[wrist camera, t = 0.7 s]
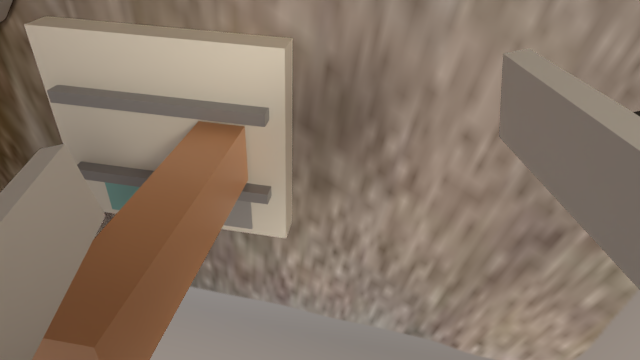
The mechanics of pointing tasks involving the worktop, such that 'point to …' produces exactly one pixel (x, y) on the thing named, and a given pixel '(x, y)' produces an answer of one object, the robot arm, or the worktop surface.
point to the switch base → (169, 105)
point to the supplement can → (4, 8)
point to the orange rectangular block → (150, 252)
